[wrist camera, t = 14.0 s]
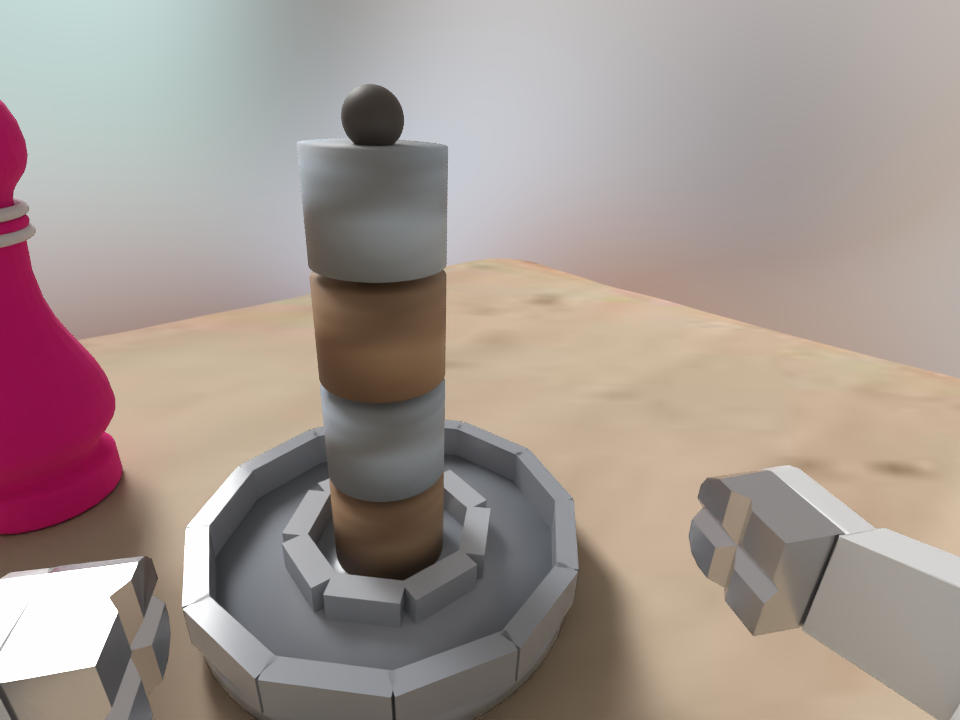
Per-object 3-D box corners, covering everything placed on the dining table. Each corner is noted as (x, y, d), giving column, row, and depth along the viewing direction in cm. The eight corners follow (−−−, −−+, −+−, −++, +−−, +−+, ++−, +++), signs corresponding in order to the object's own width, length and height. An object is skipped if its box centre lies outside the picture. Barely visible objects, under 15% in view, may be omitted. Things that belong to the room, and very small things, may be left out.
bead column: (319, 578, 21) (262, 78, 14) (355, 503, 25) (324, 83, 18) (432, 591, 21) (433, 85, 14) (450, 513, 25) (458, 88, 18)
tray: (99, 712, 17) (76, 656, 16) (294, 446, 31) (289, 405, 30) (579, 779, 16) (590, 723, 15) (563, 471, 30) (568, 430, 29)
